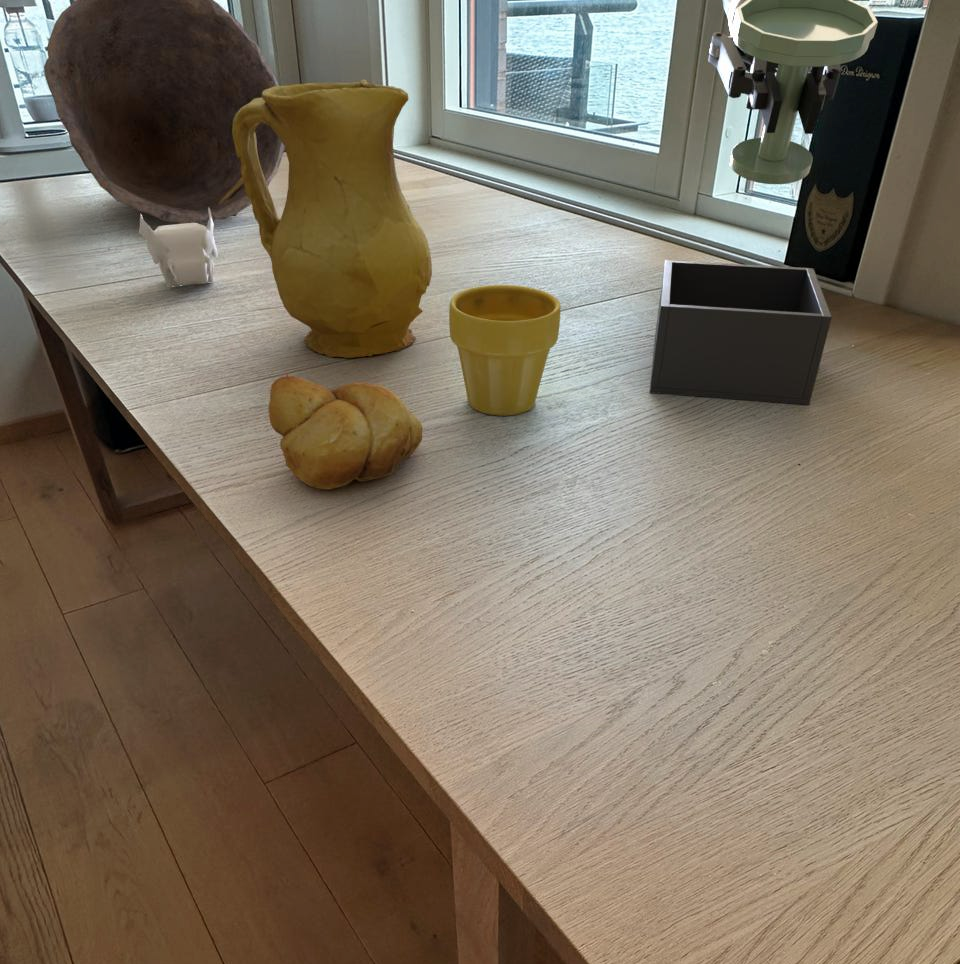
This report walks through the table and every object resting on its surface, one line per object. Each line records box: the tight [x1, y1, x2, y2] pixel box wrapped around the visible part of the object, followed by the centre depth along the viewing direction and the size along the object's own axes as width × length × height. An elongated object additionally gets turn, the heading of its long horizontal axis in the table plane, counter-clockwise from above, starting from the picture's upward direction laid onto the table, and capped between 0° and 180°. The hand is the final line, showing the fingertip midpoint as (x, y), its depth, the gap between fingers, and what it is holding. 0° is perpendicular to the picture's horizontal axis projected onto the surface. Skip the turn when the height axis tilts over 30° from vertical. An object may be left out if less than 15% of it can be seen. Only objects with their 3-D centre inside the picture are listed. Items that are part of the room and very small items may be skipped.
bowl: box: [43, 0, 285, 224], centre depth 142 cm, size 34×35×30 cm
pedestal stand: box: [729, 0, 879, 185], centre depth 82 cm, size 12×12×13 cm
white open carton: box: [138, 207, 219, 288], centre depth 111 cm, size 10×12×9 cm
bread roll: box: [268, 374, 423, 490], centre depth 71 cm, size 13×10×8 cm
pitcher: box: [232, 79, 433, 359], centre depth 91 cm, size 17×19×25 cm
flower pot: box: [448, 284, 562, 417], centre depth 82 cm, size 10×10×10 cm
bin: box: [649, 259, 833, 406], centre depth 89 cm, size 16×16×9 cm
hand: (793, 117), depth 79 cm, fingers closed on pedestal stand, 3 cm apart
